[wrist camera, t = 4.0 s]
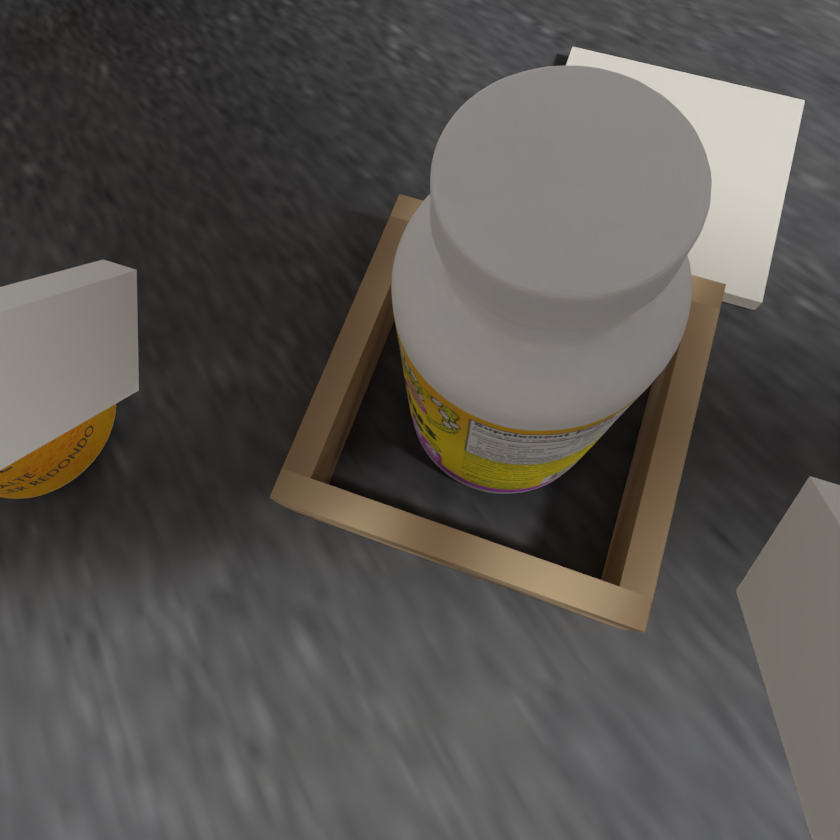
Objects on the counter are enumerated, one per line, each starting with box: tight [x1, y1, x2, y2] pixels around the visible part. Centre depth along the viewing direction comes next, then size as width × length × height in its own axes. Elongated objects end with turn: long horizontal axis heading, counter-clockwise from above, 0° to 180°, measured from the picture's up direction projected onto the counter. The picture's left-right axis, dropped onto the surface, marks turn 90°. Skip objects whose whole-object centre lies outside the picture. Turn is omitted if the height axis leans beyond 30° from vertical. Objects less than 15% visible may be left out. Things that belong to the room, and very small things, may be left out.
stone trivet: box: [566, 47, 805, 310], centre depth 25 cm, size 10×10×1 cm
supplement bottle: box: [391, 66, 712, 494], centre depth 16 cm, size 7×7×13 cm
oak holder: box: [270, 194, 726, 632], centre depth 21 cm, size 12×12×2 cm
